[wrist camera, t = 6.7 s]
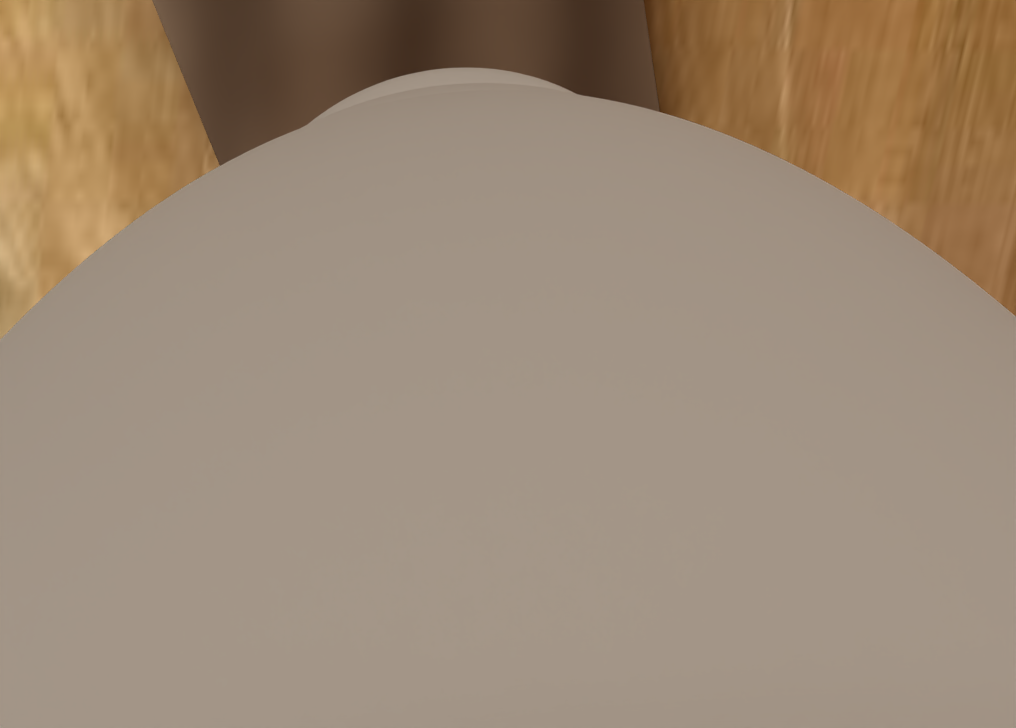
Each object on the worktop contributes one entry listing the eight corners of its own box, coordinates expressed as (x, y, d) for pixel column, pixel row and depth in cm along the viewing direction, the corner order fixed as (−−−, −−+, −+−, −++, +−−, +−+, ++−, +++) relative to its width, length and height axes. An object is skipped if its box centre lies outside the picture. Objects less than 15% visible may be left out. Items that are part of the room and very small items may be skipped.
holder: (606, -204, 27) (692, -258, 18) (675, 257, 35) (759, 376, 26) (133, -74, 28) (-5, -66, 19) (305, 350, 36) (264, 498, 27)
